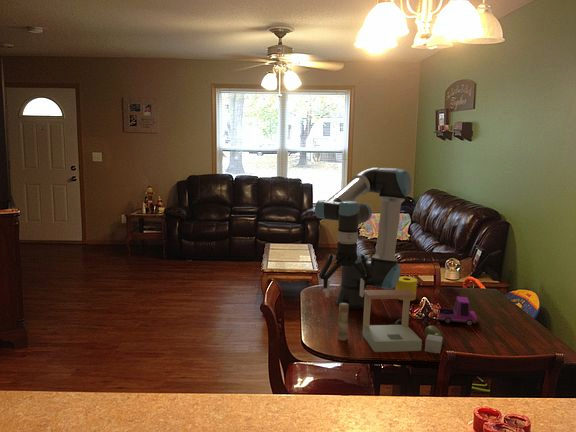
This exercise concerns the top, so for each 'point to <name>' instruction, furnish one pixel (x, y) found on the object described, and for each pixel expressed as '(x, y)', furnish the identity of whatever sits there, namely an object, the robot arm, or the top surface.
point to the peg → (343, 321)
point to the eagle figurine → (400, 322)
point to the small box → (433, 343)
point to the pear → (433, 332)
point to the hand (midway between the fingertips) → (344, 296)
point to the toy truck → (458, 312)
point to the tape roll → (407, 285)
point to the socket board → (391, 338)
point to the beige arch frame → (387, 295)
